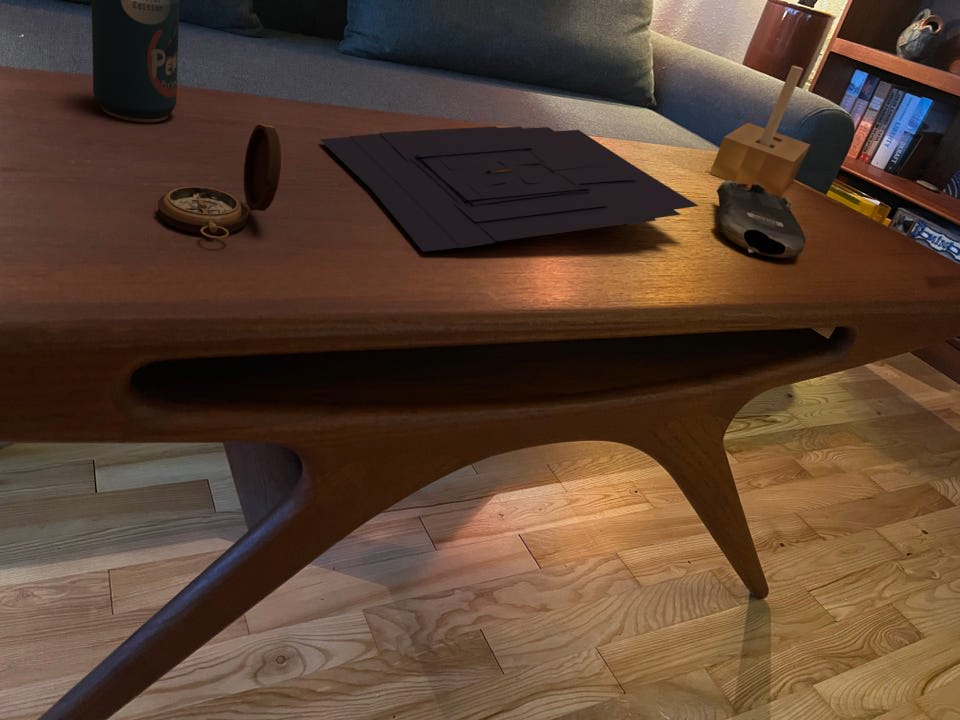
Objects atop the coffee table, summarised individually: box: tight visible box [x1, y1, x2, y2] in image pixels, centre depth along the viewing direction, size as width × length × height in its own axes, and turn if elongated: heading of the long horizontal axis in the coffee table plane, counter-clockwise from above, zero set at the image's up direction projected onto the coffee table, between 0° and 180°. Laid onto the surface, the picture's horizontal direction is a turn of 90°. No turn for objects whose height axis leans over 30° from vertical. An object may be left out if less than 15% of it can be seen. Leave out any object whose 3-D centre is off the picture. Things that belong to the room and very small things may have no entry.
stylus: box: [759, 65, 804, 147], centre depth 101 cm, size 1×1×15 cm
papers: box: [318, 126, 699, 253], centre depth 75 cm, size 24×30×4 cm
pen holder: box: [709, 122, 811, 197], centre depth 106 cm, size 9×15×5 cm, turn 151°
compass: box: [155, 123, 282, 240], centre depth 55 cm, size 8×8×7 cm
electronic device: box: [716, 180, 806, 259], centre depth 84 cm, size 9×6×15 cm
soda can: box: [90, 0, 180, 123], centre depth 69 cm, size 7×7×12 cm
